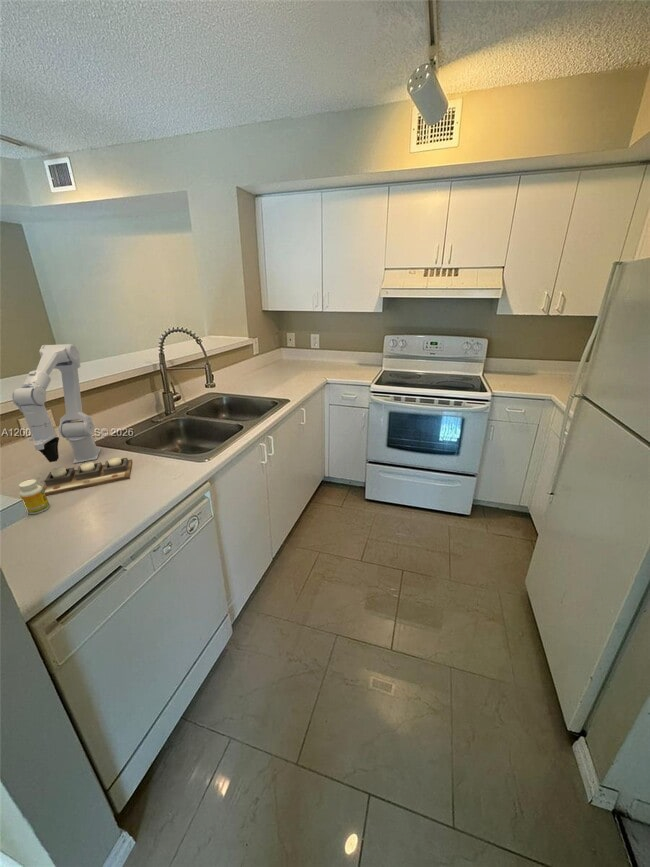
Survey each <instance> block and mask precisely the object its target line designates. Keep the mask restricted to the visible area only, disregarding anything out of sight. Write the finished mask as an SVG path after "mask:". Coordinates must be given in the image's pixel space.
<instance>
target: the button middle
mask: <svg viewBox="0 0 650 867" xmlns="http://www.w3.org/2000/svg"><path fill="white" fill-rule="evenodd" d="M94 464H95V463H94V462H93V461H86V462H85V463H84V462H83V463H82V464H80V467H81V470H82V473H84V472H89V471H94V470H95V466H94Z"/></svg>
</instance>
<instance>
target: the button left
mask: <svg viewBox="0 0 650 867" xmlns="http://www.w3.org/2000/svg"><path fill="white" fill-rule="evenodd" d="M66 469H67V468H66V467H65V466H62V467H61V466H60V467H57V468H54V469H52V470H51V471H50V472H51V474H52V476H53V478H57V477H63V476H67V472H66Z"/></svg>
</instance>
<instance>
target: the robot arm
mask: <svg viewBox="0 0 650 867" xmlns="http://www.w3.org/2000/svg"><path fill="white" fill-rule="evenodd" d="M38 352H39V355H40V360H39V362H38V364H37V366H36V369H34V370H31V371H29V372H28V374H27V377H26V378H25V380H24V381H23V383H22V384H21V386H20V387H18V388H16V389H15V390H13V391H12V393H11V397H12V399H11V401H12V403H13V404H14V405H15V406H16V407H17V408H18V410H19V411H20V413H22V414H23V416H24V418H25V421H26V424H27V426H28V428H29V430H30V433H31V435H32V436H30V437H29V438H28V440H29V442H31V441H33V443H34V445H33V447H34V448H35V451H39V452H40V453H41V454H42V455H43V456H44V457H45V459H46V460H47V461H48V462H49V463H53V462H55V463H56V462H57V461H58V460H59V458H60V457H59V441H60V438H59V437H57V436H58V435H57V432H56V429H55V427H53V424H52V421H51V419H50V416H49V414H48V411H47V409H46V405H45V404H46V402H47V389H48V388H49V385H50V383H51V377H50V375H51V372H53V370H54V369H56V370H58V371H60V373H61V380H62V382H61V383H62V389H63V398H64V405H65V406H64V407H65V408H64V409H65V414H64V415H63V416H61V417H60V418H59V426H58V431H59V432H58V433H59V434H60V436H61V437H62V438H64V439H66V441H68V442H69V445H70V448H71V450H72V453H73V455H74V459H73V461H72V464H79V463H84V461H85V462H91V461H95V460H97V459H98V457H99V454H100V452H101V449H100V448H97V444H96V441H95V438H94V436H93V434H94V433H95V426H94V423H93V420H92V416H90V415H89V414H86V413H85V412H83V405H82V404H83V403H82V397H81V396H82V394H81V387H80V386H81V385H80V378H79V371H78V369H80V368H81V359H80V352H79V350H78V348H77V347H76V346H75V345H74V344H72V343H67V344H64V343H63V344H43V345H41V347H40V349H39V351H38ZM90 460H91V461H90ZM78 462H79V463H78Z"/></svg>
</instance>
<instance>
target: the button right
mask: <svg viewBox="0 0 650 867" xmlns="http://www.w3.org/2000/svg"><path fill="white" fill-rule="evenodd" d="M121 459H122V458H121V457H119V456H116V457H115V456H114V457H112V458H109V459H108V460H107V461H108V463H109V466H110V467H115V466H121V465H122V461H121Z"/></svg>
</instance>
